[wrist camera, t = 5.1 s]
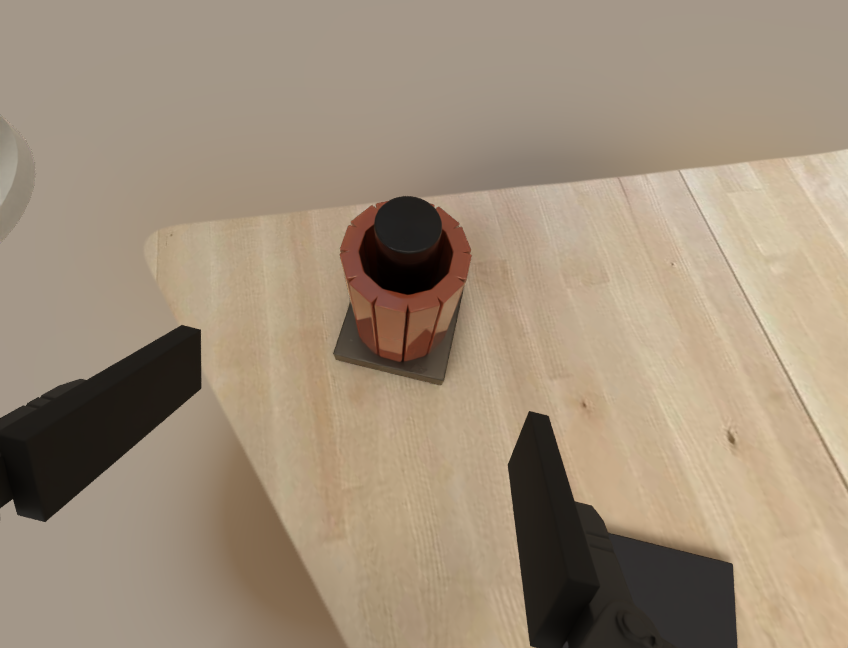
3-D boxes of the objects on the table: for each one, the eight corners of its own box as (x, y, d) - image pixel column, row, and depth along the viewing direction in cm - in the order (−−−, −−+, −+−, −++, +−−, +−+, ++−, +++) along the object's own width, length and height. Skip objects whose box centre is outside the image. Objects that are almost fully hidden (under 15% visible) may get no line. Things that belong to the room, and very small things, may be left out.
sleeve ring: (343, 347, 28) (323, 293, 20) (369, 266, 31) (362, 186, 22) (437, 370, 28) (457, 325, 20) (456, 287, 30) (480, 214, 22)
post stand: (335, 359, 29) (296, 276, 17) (365, 267, 32) (350, 140, 20) (441, 385, 29) (476, 320, 17) (461, 290, 32) (504, 177, 20)
